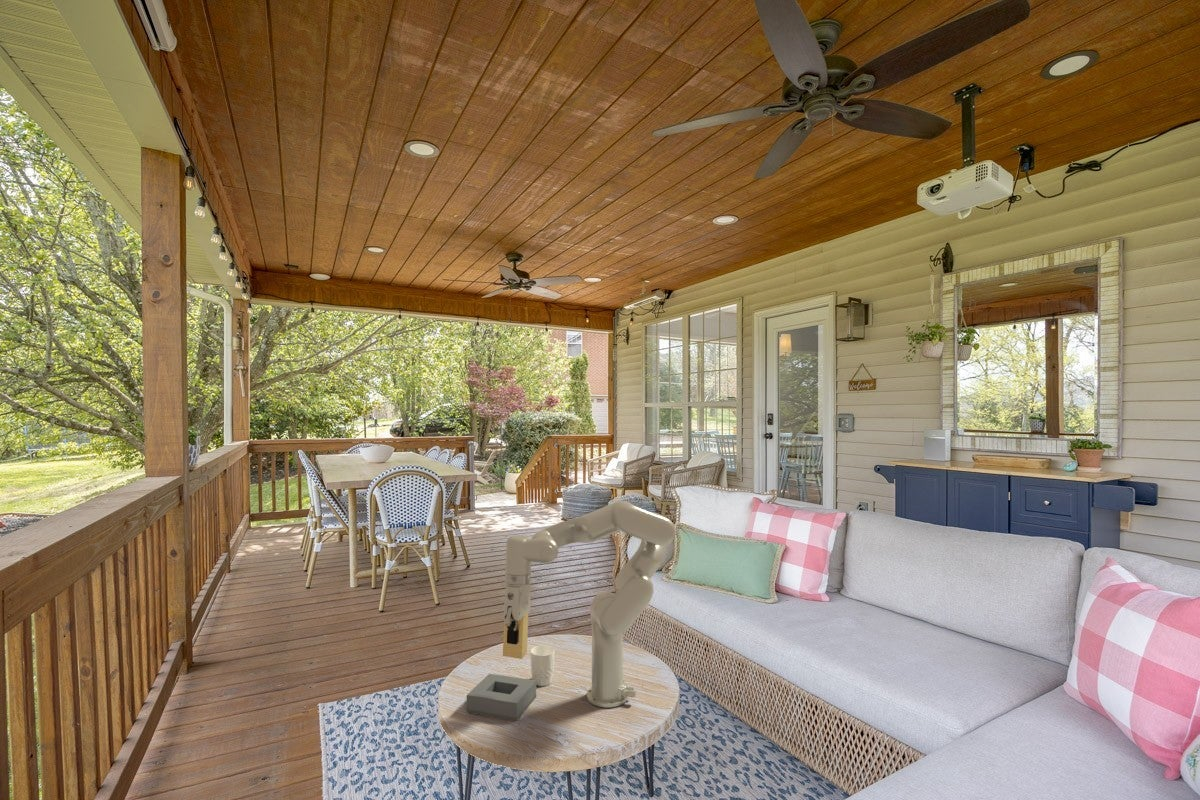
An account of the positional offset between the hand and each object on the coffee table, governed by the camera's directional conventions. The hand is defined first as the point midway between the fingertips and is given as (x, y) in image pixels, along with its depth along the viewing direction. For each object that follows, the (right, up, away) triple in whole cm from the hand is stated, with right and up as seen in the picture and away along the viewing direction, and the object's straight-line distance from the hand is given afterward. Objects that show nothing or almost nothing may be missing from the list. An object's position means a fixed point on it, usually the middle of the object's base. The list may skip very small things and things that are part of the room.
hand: (515, 639), depth 163 cm
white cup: (+6, -21, +16) cm, 27 cm away
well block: (-4, -20, +1) cm, 21 cm away
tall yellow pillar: (0, -4, 0) cm, 4 cm away
